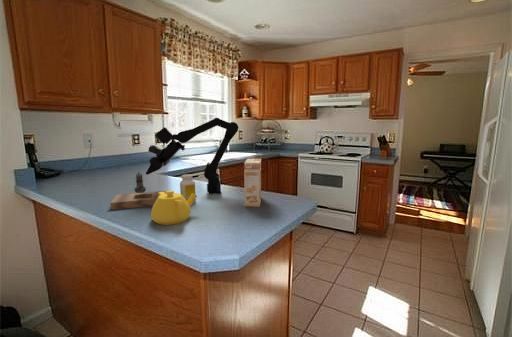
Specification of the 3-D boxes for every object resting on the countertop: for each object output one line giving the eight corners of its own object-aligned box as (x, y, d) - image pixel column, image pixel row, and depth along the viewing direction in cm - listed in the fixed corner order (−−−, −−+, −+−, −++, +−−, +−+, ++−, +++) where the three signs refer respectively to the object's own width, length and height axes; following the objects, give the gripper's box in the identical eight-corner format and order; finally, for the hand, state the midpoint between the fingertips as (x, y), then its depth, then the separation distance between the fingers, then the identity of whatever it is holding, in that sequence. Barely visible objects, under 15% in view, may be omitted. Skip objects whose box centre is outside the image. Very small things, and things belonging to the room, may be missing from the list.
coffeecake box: (260, 206, 115) (260, 162, 111) (243, 206, 115) (243, 162, 112) (261, 197, 129) (261, 158, 126) (247, 197, 130) (246, 158, 127)
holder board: (170, 196, 132) (170, 190, 131) (170, 204, 118) (169, 198, 118) (118, 200, 125) (117, 194, 124) (111, 209, 111) (110, 202, 111)
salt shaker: (136, 193, 137) (134, 171, 135) (148, 193, 138) (146, 170, 136) (132, 196, 132) (130, 173, 130) (144, 196, 132) (142, 172, 130)
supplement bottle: (198, 201, 123) (197, 174, 121) (189, 205, 117) (188, 177, 115) (187, 199, 126) (186, 173, 124) (177, 203, 120) (176, 175, 118)
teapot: (211, 218, 101) (210, 190, 99) (165, 231, 88) (163, 200, 86) (184, 207, 115) (183, 182, 113) (142, 217, 102) (140, 189, 101)
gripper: (162, 138, 140) (142, 159, 141) (152, 140, 122) (129, 164, 123) (178, 152, 142) (158, 173, 143) (171, 157, 124) (148, 180, 125)
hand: (149, 172), depth 133 cm, fingers open, 9 cm apart
